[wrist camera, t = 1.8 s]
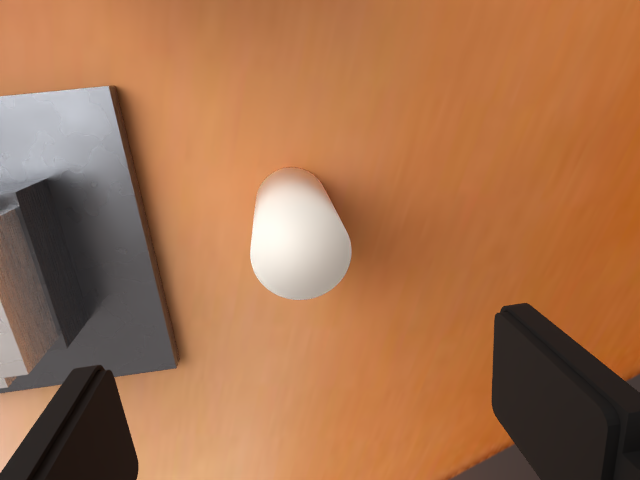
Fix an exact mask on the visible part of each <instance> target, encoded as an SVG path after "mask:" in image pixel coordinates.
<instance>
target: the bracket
mask: <svg viewBox="0 0 640 480" xmlns="http://www.w3.org/2000/svg"><path fill="white" fill-rule="evenodd" d="M179 359H180V358H179V354H178V350H177V345H176V341H175V337H174V333H173V329H172V324H171V320H170V316H169V312H168V307H167V303H166V299H165V295H164V290H163V286H162V282H161V278H160V274H159V269H158V265H157V261H156V257H155V252H154V248H153V244H152V240H151V235H150V231H149V227H148V223H147V218H146V214H145V210H144V206H143V202H142V197H141V193H140V189H139V185H138V180H137V176H136V172H135V168H134V163H133V159H132V155H131V151H130V147H129V142H128V138H127V134H126V130H125V125H124V121H123V117H122V113H121V108H120V104H119V100H118V96H117V91H116V87H115V86H104V87H93V88H83V89H73V90H62V91H52V92H42V93H31V94H21V95H11V96H1V97H0V393H5V392H12V391H19V390H26V389H33V388H40V387H47V386H54V385H61V384H63V382H64V381H65V379H66V378H67V377H68V375H69V374H70V372H71V371H72V370H73V369H75V368H80V367H87V366H94V365H102V366H103V367H104V369H105V370H111V371H112V373H113V375H114V377H117V376H124V375H132V374H139V373H146V372H153V371H160V370H167V369H174V368H177V365H178V362H179Z"/></svg>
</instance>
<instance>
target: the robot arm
mask: <svg viewBox="0 0 640 480" xmlns="http://www.w3.org/2000/svg"><path fill="white" fill-rule="evenodd" d="M492 407H493V411H494V413H495V416H496V417H497V419H498V420H499V422H500V423H501V424H502V426H503V427H504V429H505V430H506V432H507V433H508V434H509V436H510V437H511V439H512V440H513V441H514V443H515V444H516V445H517V447H518V448H519V450H520V451H521V453H522V454H523V455H524V457H525V458H526V460H527V461H528V462H529V464H530V465H531V466H532V468H533V469H534V471H535V472H536V474H537V475H538V476H539V478H540V479H541V480H640V393H639V392H638V391H637V390H635V389H634V388H633V387H631V386H630V385H629V384H628V383H627V382H625V381H624V380H623V379H622V378H620V377H619V376H618V375H617V374H615V373H614V372H613V371H612V370H610V369H609V368H608V367H607V366H605V365H604V364H603V363H602V362H600V361H599V360H598V359H597V358H595V357H594V356H593V355H592V354H590V353H589V352H588V351H587V350H586V349H584V348H583V347H582V346H581V345H579V344H578V343H577V342H576V341H574V340H573V339H572V338H571V337H569V336H568V335H567V334H566V333H564V332H563V331H562V330H561V329H559V328H558V327H557V326H556V325H554V324H553V323H552V322H551V321H549V320H548V319H547V318H546V317H544V316H543V315H542V314H541V313H539V312H538V311H537V310H536V309H534V308H533V307H532V306H531V305H529V304H527V303H522V304H515V305H508V306H503V307H502V309H501V311H500V313H497V314H496V315H495V321H494V350H493V378H492ZM137 475H138V459H137V455H136V452H135V448H134V445H133V441H132V438H131V434H130V431H129V427H128V424H127V420H126V417H125V413H124V410H123V406H122V403H121V400H120V396H119V393H118V389H117V386H116V382H115V379H114V375H113V373H112V371H111V370H105V369H104V367H103V366H102V365H94V366H87V367H80V368H75V369H73V370H72V371H71V372H70V374H69V375H68V377H67V378H66V379H65V381H64V382H63V384H62V385H61V387H60V388H59V390H58V391H57V392H56V394H55V395H54V397H53V398H52V400H51V401H50V402H49V404H48V405H47V407H46V408H45V410H44V411H43V413H42V414H41V415H40V417H39V418H38V420H37V421H36V423H35V424H34V425H33V427H32V428H31V430H30V431H29V433H28V434H27V436H26V437H25V438H24V440H23V441H22V443H21V444H20V446H19V447H18V449H17V450H16V451H15V453H14V454H13V456H12V457H11V459H10V460H9V461H8V463H7V464H6V466H5V467H4V469H3V470H2V472H1V473H0V480H136V479H137Z"/></svg>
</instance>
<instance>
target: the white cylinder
mask: <svg viewBox="0 0 640 480" xmlns="http://www.w3.org/2000/svg"><path fill="white" fill-rule="evenodd" d="M250 257H251V264H252V267H253V270H254V273H255V274H256V276H257V278H258V279H259V281H260V282H261V283H262V284H263V285H264V286H265V287H266V288H267V289H268V290H270V291H271V292H273V293H274V294H276V295H279V296H281V297H284V298H287V299H293V300H306V299H312V298H315V297H318V296H321V295H323V294H325V293H327V292H328V291H330V290H331V289H333V288H334V287H335V286H336V285H337V284H338V283H339V282H340V281H341V280H342V278H343V277H344V275H345V274H346V272H347V270H348V267H349V264H350V261H351V242H350V239H349V235H348V233H347V231H346V229H345V227H344V225H343V223H342V221H341V219H340V218H339V216H338V214H337V212H336V210H335V208H334V206H333V204H332V202H331V200H330V198H329V196H328V194H327V193H326V191H325V189H324V187H323V185H322V183H321V182H320V181H319V179H318V178H317V177H316V176H315V175H313V174H312V173H310V172H308V171H306V170H304V169H301V168H294V167H288V168H282V169H279V170H277V171H275V172H273V173H271V174H270V175H269V176H267V177H266V178H265V179H264V181H263V182H262V183H261V185H260V187H259V189H258V192H257V195H256V203H255V212H254V222H253V231H252V241H251V252H250Z"/></svg>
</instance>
